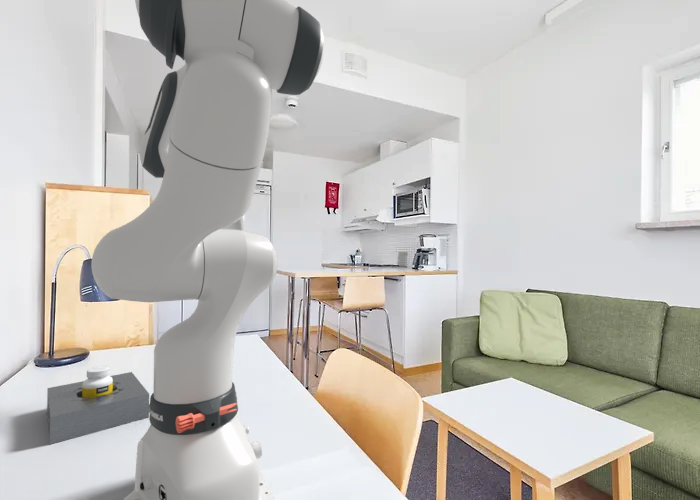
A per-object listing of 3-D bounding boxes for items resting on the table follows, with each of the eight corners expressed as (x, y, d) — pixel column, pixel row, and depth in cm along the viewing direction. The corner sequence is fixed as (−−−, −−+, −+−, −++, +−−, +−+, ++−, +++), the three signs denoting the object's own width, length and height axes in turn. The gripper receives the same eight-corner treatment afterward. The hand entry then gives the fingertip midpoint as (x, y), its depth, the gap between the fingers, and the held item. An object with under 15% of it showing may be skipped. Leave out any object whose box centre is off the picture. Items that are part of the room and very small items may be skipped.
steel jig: (148, 417, 74) (149, 393, 75) (50, 444, 64) (50, 417, 64) (131, 391, 88) (131, 371, 88) (47, 410, 77) (47, 388, 77)
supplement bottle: (96, 421, 73) (96, 373, 73) (74, 418, 74) (75, 371, 74) (118, 409, 78) (118, 365, 78) (98, 407, 79) (98, 363, 79)
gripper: (158, 193, 77) (157, 256, 76) (246, 203, 90) (246, 256, 90) (151, 196, 81) (150, 256, 81) (236, 205, 95) (235, 256, 95)
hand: (201, 256), depth 86 cm, fingers open, 8 cm apart
